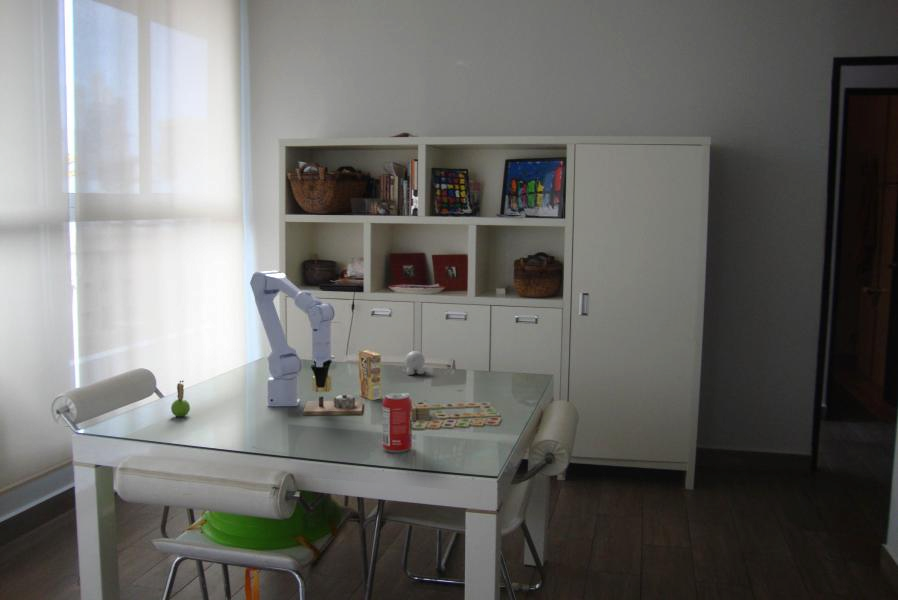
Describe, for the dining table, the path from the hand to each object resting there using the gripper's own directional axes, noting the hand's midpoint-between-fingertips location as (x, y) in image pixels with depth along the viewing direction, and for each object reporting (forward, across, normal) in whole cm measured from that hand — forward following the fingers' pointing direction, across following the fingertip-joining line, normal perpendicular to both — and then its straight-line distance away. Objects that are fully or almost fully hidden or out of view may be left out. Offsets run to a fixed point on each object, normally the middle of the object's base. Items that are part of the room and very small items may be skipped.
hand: (321, 385), depth 261 cm
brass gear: (+2, 0, 0) cm, 2 cm away
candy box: (+9, +18, -14) cm, 25 cm away
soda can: (+8, -41, -24) cm, 48 cm away
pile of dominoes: (+9, -8, -38) cm, 40 cm away
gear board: (+8, +2, -4) cm, 9 cm away
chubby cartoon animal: (+9, +57, -30) cm, 65 cm away
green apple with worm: (+9, -5, +42) cm, 44 cm away
